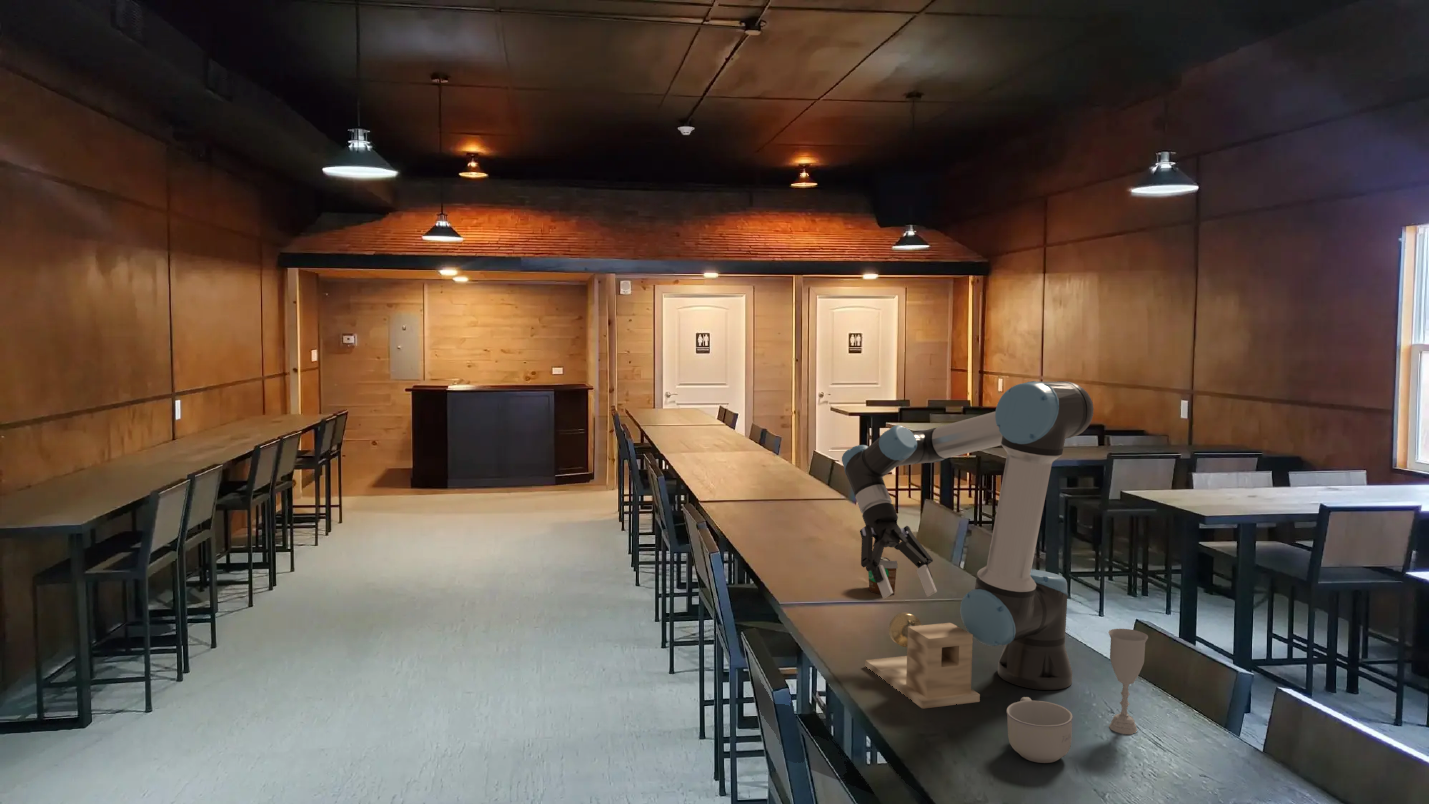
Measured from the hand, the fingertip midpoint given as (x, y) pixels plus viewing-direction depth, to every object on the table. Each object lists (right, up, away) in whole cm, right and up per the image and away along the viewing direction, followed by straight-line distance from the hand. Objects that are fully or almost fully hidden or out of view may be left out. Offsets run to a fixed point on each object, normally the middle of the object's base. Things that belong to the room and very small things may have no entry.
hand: (910, 595), depth 203 cm
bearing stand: (0, -17, -7) cm, 18 cm away
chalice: (+34, -19, -29) cm, 48 cm away
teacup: (+14, -20, -39) cm, 46 cm away
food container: (+4, -12, +64) cm, 65 cm away
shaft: (0, -11, -7) cm, 13 cm away
